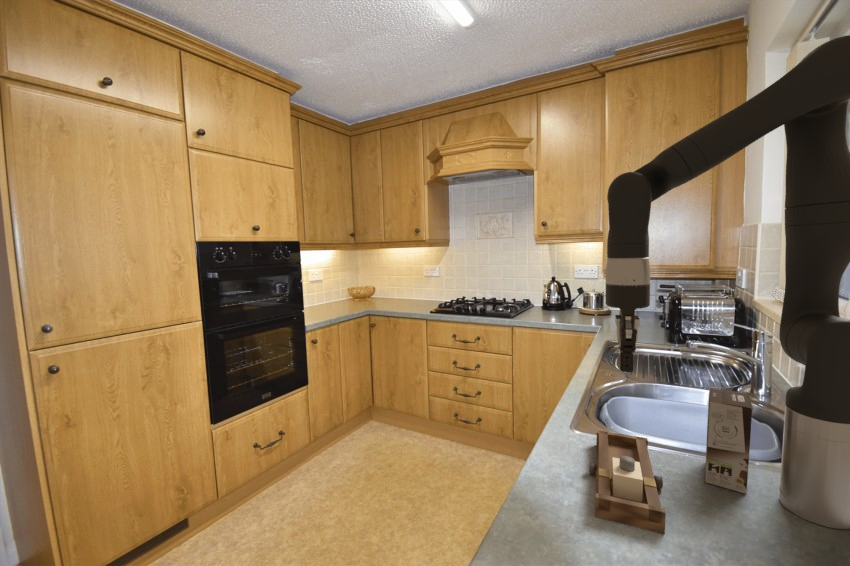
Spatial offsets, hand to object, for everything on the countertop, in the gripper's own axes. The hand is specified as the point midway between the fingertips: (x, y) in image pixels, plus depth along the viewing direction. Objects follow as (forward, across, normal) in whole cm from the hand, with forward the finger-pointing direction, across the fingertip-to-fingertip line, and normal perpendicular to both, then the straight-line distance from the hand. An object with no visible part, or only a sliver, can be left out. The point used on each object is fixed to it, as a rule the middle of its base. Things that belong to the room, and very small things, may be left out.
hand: (626, 370), depth 75 cm
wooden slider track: (+21, -3, 0) cm, 21 cm away
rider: (+19, -8, 0) cm, 21 cm away
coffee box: (+22, +6, -18) cm, 29 cm away
